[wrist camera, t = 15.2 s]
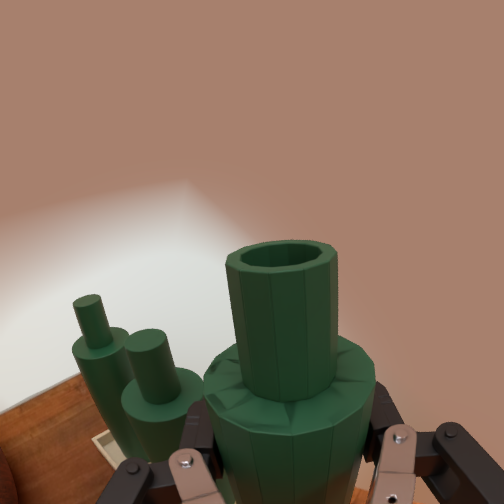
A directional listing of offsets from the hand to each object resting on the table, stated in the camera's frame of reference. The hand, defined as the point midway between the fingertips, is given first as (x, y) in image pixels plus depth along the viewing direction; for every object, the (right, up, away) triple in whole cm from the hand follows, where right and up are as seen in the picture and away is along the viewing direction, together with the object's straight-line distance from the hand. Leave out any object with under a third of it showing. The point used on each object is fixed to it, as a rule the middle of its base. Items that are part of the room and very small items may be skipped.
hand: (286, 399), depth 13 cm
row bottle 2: (-6, -16, +9) cm, 19 cm away
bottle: (+1, -11, 0) cm, 11 cm away
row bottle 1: (-13, -15, +15) cm, 25 cm away
